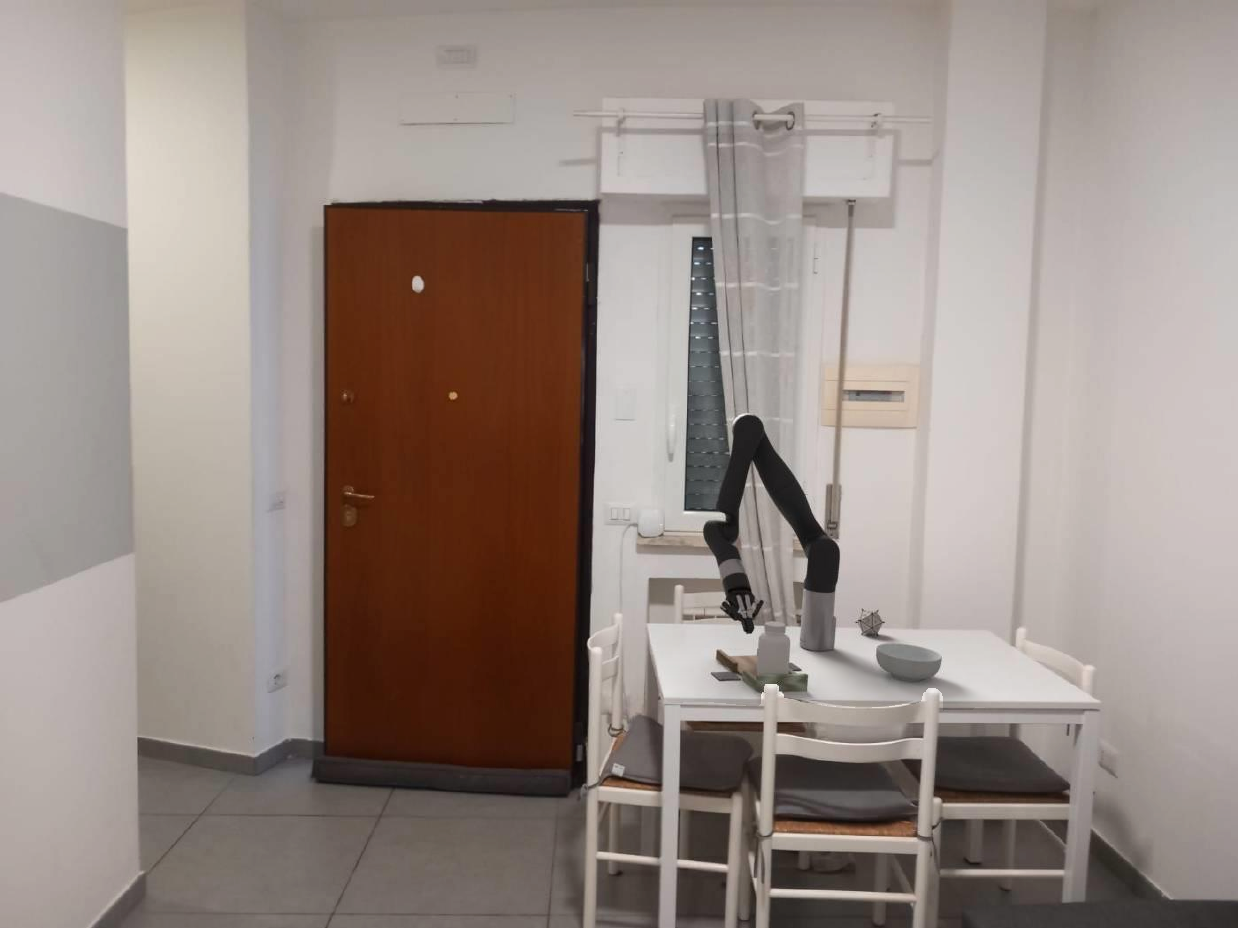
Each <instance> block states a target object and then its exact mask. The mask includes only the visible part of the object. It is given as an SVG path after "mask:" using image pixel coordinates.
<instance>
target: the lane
mask: <svg viewBox="0 0 1238 928" xmlns="http://www.w3.org/2000/svg"><path fill="white" fill-rule="evenodd" d="M756 651H757V652H756V655H755V654H754V655H753V654H752V655H751V654H750V655H728V654H727V653H725V651H723V650H722V649H716V653H715V654H716V655H715V659H716V660H717V661H718V662H720V663H721V664H722V665H724V666H725V667H726V668H727V669H728V670H730V671H711V672H710V674H711V675H712V676H713V677H714V678H715V679H716V680H718V681H720V682H723V681H741V680H742V681H743V682H744V683H745V684H746V685H747V686H749V687H750V688H751V689H753V690H754V691H755V692H757V693H760V694H761V693H765V692H764V686H765V684H777V685H778V686H779V692H778V693H784V692H785V693H787V692H803V691H804V692H807V691H808V684H809V683H808V682H809V674H808V673H797V671H802V668H800V667H798V666H797V665H796V664H795V663H793V662H789V674H777V675H757V659H758V648H757V650H756ZM736 673H737V674H738V675H737V674H736ZM739 675H740V676H741V677H742V678H741V677H739Z"/></svg>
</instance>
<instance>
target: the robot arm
mask: <svg viewBox="0 0 1238 928" xmlns="http://www.w3.org/2000/svg"><path fill="white" fill-rule="evenodd" d="M731 433H732V445H731V452H730V456H729V457H730V458H729V461H728V464H727V466H726V470H725V472H724V475H723V478H722V481H721V485H720V488H719V491H718V495H717V500H716V502H715V509H716V510H717V511H718V512H719V513H722V514H724V515H725V520H721V519H715V518H714V519H712V518H711V519H708V520H706V522H705V523H704V525H703V527H702V534H703V538H704V541H705V544H706V545H707V546H708V548H709V550H710V551H711V553H712V554H713V556H714V557H715V561H716V563H717V567H718V572H719V577H720V582H721V584H722V585H721V586H722V589H723V591H724V595H725V600H724V601H722V603H721V604H720V607H719V609H720V610H721V611H722V612H724V613H725V614H726V615H727V616H728V617H729V618H731V619H732V620H733V621H735V622H737V621H738V622H740V624H741V626H742V627H741V628H742V630H743V632H744V633H745V634H746V635H749V634H750V635H751V634H753V632H754V631H755V625H754V620H756V618H757V616H758V615H759V613H760V611H761V609H762V608H763V606H764V603H765V601H764V600H763V599H760V600H759V599H757V598H756V596H755V595H754V594H753V591H752V586H751V583H750V580H749V577H748V573H747V570H746V567H745V566H744V563H743V560H742V557H741V554H740V551H739V548H738V547H737V546H736V545H734V544H735V543H736V542H737V540H738V539H739V534H740V507H741V506H742V505H741V503H742V500H743V496H744V492H745V489H746V484H747V479H748V475H749V471H750V468H751V464H752V463H753V465H754V467H755V469H756V471H757V473H758V477H759V478H760V480H761V482H762V485H763V487H764V488H765V490H766V492H767V494H768V495H769V497H770V499H771V500H772V502H773V503H774V505H775V507H776V508H777V510H778V511H779V513H780V514H781V515H782V517H783V518H784V520H785V521H786V522H787V523H788V524H789V526H790V527H791V528H792V530H793V532H794V533H795V535H796V537H797V539H798V541H799V544H800V546H801V548H802V550H803V552H804V555H805V557H806V559H807V565H806V575H805V578H804V579H803V589H802V590H803V591H802V605H801V620H800V621H801V622H800V636H799V646H800V647H801V648H803V649H806V650H810V651H816V652H820V651H821V652H824V651H825V652H826V651H830V650H835V643H836V641H835V640H836V629H837V628H836V627H837V617H836V616H835V615H834V614H835V602H836V601H835V600H836V588H837V584H838V581H839V572H840V563H841V549H840V546H839V545H838V543H837V541H835V540H833V539H832V538H831V537H830V536H829V535H828V533H826V532H825V530H824V528H823V527H822V526H821V524H820V523H819V522H818V521H817V519H816V517H815V515H814V513H813V511H812V508H811V506H810V503H809V501H808V498H807V495H806V494H805V492H804V490H803V488H802V486H801V485H800V483H799V481H798V480H797V477H796V476H795V475H794V473H793V471H792V470H791V469H790V468H789V466H788V465H787V463H786V462H785V461H784V460H783V459H782V457H781V456H780V455H779V454H778V452H777V451H776V449H775V448H774V446H773V445H772V443H771V441H770V439H769V437H768V435H767V433H766V430H765V426H764V422H763V421H762V420H761V418H759V416H757V415H756V414H753V413H748V412H747V413H741V414H740V415H739V414H738V416H736V417H735V419H734V420H733V422H732V425H731ZM752 606H753V607H754V608H755V609H754V611H753V612H752Z"/></svg>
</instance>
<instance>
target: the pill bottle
mask: <svg viewBox="0 0 1238 928" xmlns="http://www.w3.org/2000/svg"><path fill="white" fill-rule="evenodd" d="M763 626H764V627H763V628H764V632H762V633H760V634H759V636H758V644H757V649H758V659H757V675H777V674H789V663H790V656H791V655H790V653H791V639H790V637H789V636H788V635H787V634H786V631H787V627H786V626H787V625H786V623H783V622H780V621H766V622H764V625H763Z"/></svg>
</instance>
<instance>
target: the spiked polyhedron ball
mask: <svg viewBox="0 0 1238 928" xmlns="http://www.w3.org/2000/svg"><path fill="white" fill-rule="evenodd" d="M878 612H879V609H877V610H876V611H875V610H872V611H871V610H864V608H861V614H860V616H859V617H858V619H857V621H854V623H855V624H857V625H858V626H859V628H860V631H861V634H860V635H861V636H863V635H864V634H867V635H868V634H869V635H870V634H871V635H876V636H877V637H879V634H878V633H879V631H880V629H881V627H882V625H883V624H885V623H886V621H883V620H882V617H881V616H880V615H879V613H878Z"/></svg>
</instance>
